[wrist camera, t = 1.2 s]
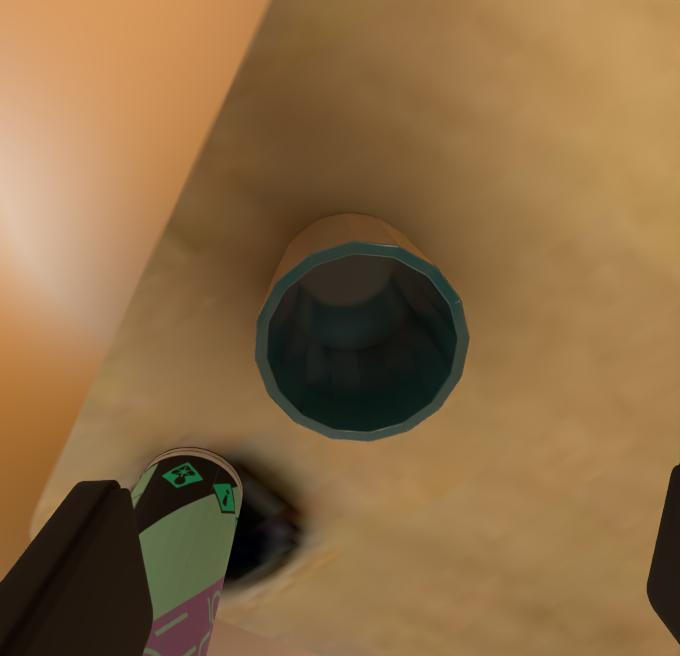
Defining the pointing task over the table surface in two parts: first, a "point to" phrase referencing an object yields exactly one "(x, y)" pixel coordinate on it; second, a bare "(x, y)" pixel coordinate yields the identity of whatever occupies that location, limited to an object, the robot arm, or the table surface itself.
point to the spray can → (185, 544)
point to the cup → (359, 331)
